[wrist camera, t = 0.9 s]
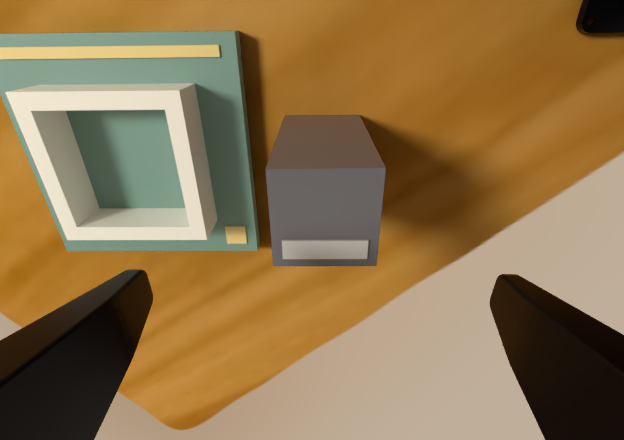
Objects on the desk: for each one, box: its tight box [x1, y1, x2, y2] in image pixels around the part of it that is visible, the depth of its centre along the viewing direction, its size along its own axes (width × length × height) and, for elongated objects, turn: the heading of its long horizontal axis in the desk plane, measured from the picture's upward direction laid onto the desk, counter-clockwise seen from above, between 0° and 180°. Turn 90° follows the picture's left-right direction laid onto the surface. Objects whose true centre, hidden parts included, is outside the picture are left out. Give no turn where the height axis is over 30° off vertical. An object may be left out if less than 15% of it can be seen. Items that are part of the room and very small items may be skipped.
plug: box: [266, 115, 386, 266], centre depth 16 cm, size 4×4×8 cm
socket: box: [5, 83, 217, 240], centre depth 18 cm, size 8×8×2 cm
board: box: [0, 31, 260, 251], centre depth 19 cm, size 12×12×1 cm
